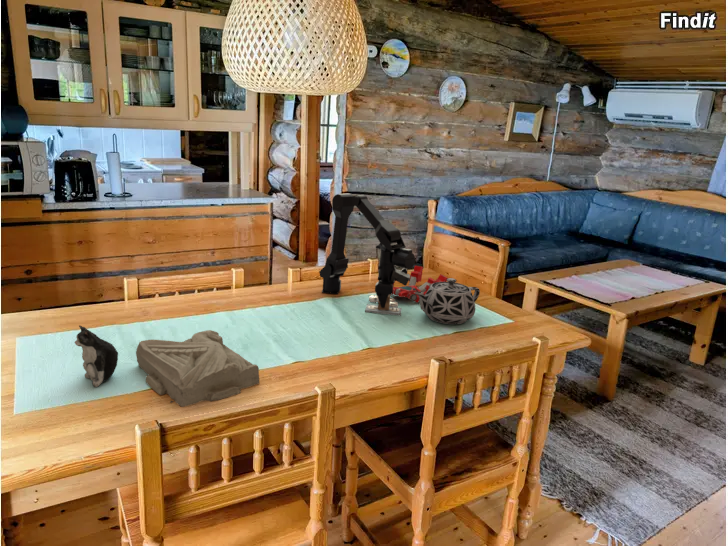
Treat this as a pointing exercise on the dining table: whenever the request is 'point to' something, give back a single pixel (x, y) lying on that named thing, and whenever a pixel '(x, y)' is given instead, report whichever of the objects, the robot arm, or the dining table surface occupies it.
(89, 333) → the figurine
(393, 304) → the tealight
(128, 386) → the dining table surface
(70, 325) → the dining table surface
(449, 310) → the teapot
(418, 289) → the toy robot
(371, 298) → the tealight
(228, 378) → the sculpture
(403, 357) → the dining table surface
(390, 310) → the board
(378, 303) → the block
